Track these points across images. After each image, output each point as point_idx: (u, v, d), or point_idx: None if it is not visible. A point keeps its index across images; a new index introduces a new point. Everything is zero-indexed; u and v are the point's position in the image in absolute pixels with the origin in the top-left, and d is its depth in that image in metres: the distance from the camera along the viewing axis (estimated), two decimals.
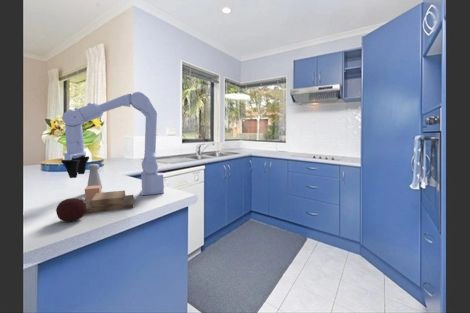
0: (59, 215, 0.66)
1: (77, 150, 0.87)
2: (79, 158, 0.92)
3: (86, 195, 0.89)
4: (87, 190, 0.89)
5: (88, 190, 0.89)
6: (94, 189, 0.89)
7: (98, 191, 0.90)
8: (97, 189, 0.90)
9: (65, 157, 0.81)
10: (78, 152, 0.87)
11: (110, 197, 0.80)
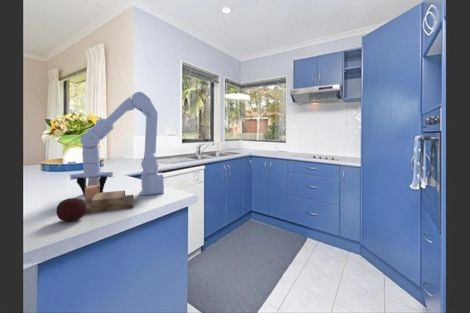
0: (59, 215, 0.66)
1: (84, 171, 0.88)
2: None
3: (86, 194, 0.89)
4: (87, 190, 0.88)
5: (88, 190, 0.89)
6: (94, 189, 0.89)
7: (98, 191, 0.90)
8: (97, 189, 0.90)
9: None
10: (84, 173, 0.88)
11: (110, 197, 0.80)
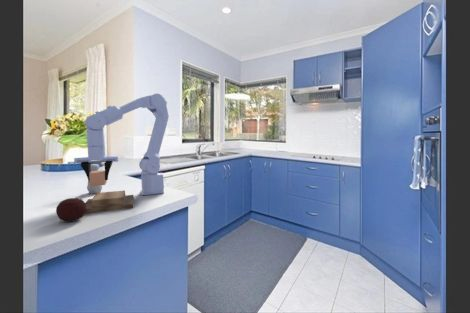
0: (59, 215, 0.66)
1: (89, 155, 0.84)
2: None
3: (91, 179, 0.85)
4: (92, 174, 0.85)
5: (93, 174, 0.85)
6: (99, 173, 0.86)
7: (103, 176, 0.86)
8: (102, 173, 0.86)
9: None
10: (89, 157, 0.84)
11: (110, 197, 0.80)
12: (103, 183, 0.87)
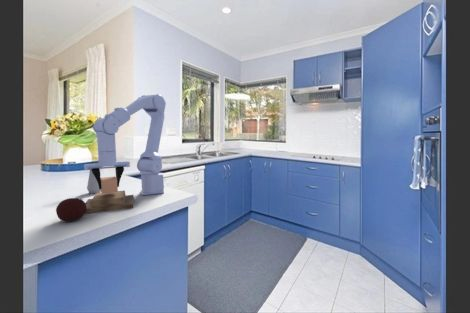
0: (59, 215, 0.66)
1: (100, 161, 0.79)
2: (116, 169, 0.84)
3: (103, 186, 0.80)
4: (104, 181, 0.80)
5: (105, 181, 0.80)
6: (111, 180, 0.81)
7: (116, 182, 0.82)
8: (115, 180, 0.82)
9: (84, 166, 0.78)
10: (101, 163, 0.79)
11: (110, 197, 0.80)
12: (116, 190, 0.82)
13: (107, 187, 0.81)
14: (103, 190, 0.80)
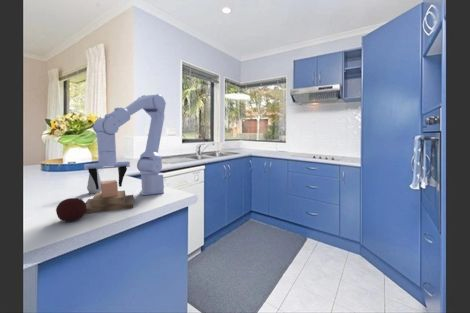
0: (59, 215, 0.66)
1: (100, 161, 0.79)
2: (118, 169, 0.85)
3: (103, 190, 0.80)
4: (104, 185, 0.80)
5: (105, 185, 0.80)
6: (112, 184, 0.81)
7: (116, 186, 0.82)
8: (115, 184, 0.82)
9: (84, 166, 0.78)
10: (101, 163, 0.79)
11: (110, 197, 0.80)
12: (116, 194, 0.82)
13: (107, 191, 0.81)
14: (103, 194, 0.80)
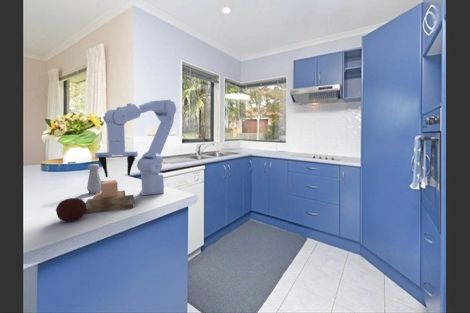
0: (59, 215, 0.66)
1: (110, 150, 0.84)
2: (127, 158, 0.89)
3: (103, 190, 0.80)
4: (104, 185, 0.80)
5: (105, 185, 0.80)
6: (112, 184, 0.81)
7: (116, 186, 0.82)
8: (115, 184, 0.82)
9: (95, 155, 0.83)
10: (110, 151, 0.84)
11: (110, 197, 0.80)
12: (116, 194, 0.82)
13: (107, 191, 0.81)
14: (103, 194, 0.80)
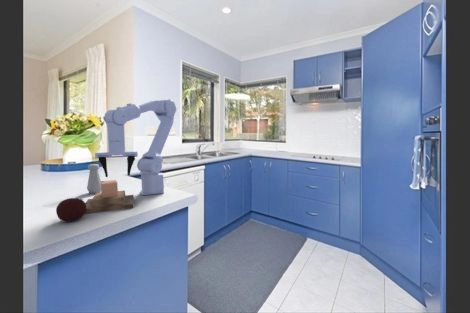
0: (59, 215, 0.66)
1: (110, 150, 0.84)
2: (127, 158, 0.89)
3: (103, 190, 0.80)
4: (104, 185, 0.80)
5: (105, 185, 0.80)
6: (112, 184, 0.81)
7: (116, 186, 0.82)
8: (115, 184, 0.82)
9: (95, 155, 0.83)
10: (110, 151, 0.84)
11: (110, 197, 0.80)
12: (116, 194, 0.82)
13: (107, 191, 0.81)
14: (103, 194, 0.80)
